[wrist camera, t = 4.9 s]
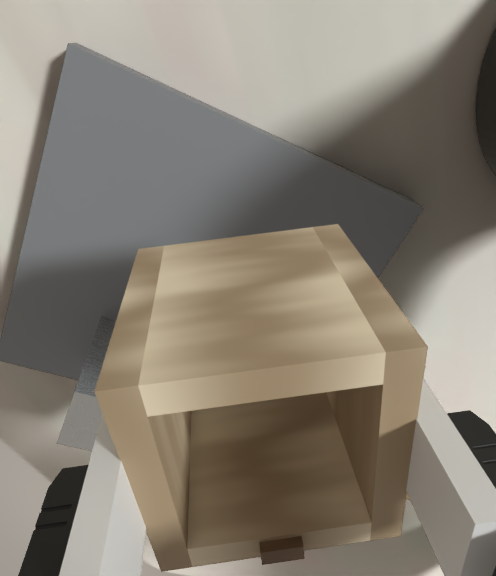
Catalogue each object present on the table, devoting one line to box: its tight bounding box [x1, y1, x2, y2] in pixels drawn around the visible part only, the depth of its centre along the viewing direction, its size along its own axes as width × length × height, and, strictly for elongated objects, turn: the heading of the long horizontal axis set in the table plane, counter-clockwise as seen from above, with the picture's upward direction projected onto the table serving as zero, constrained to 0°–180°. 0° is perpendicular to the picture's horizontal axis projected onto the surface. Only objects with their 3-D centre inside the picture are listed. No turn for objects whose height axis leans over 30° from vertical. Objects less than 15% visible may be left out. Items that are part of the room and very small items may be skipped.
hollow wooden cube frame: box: [94, 224, 428, 571], centre depth 14 cm, size 7×7×7 cm
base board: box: [0, 43, 424, 380], centre depth 27 cm, size 20×19×2 cm
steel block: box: [57, 317, 116, 451], centre depth 26 cm, size 4×4×8 cm
